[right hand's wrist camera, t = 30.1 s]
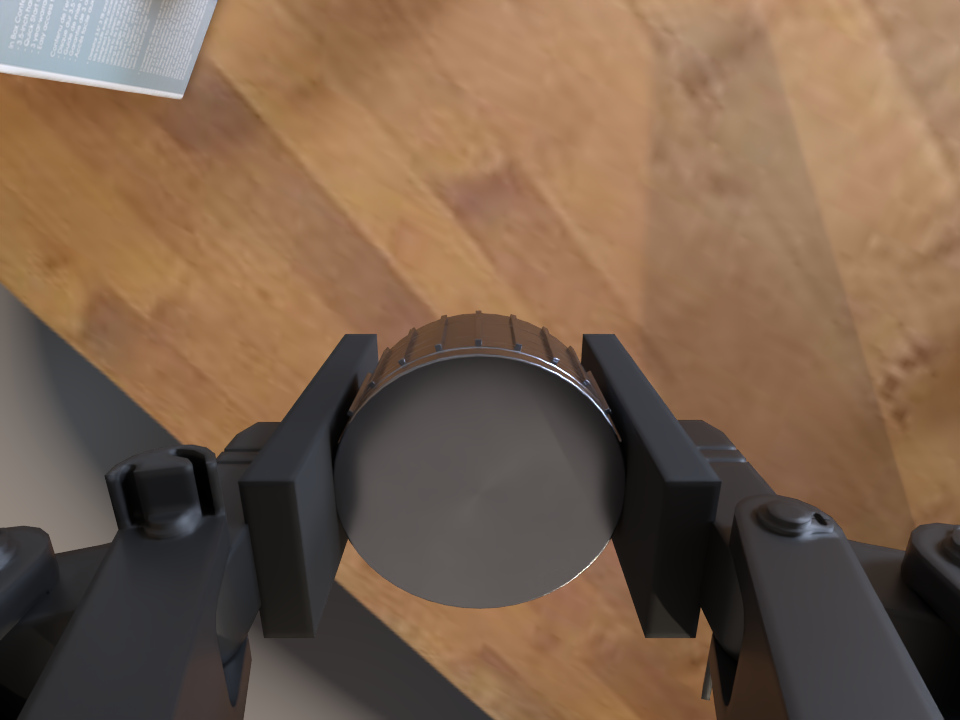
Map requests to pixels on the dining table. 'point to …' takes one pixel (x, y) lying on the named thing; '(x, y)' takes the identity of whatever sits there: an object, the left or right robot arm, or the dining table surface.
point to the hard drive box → (105, 42)
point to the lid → (479, 464)
